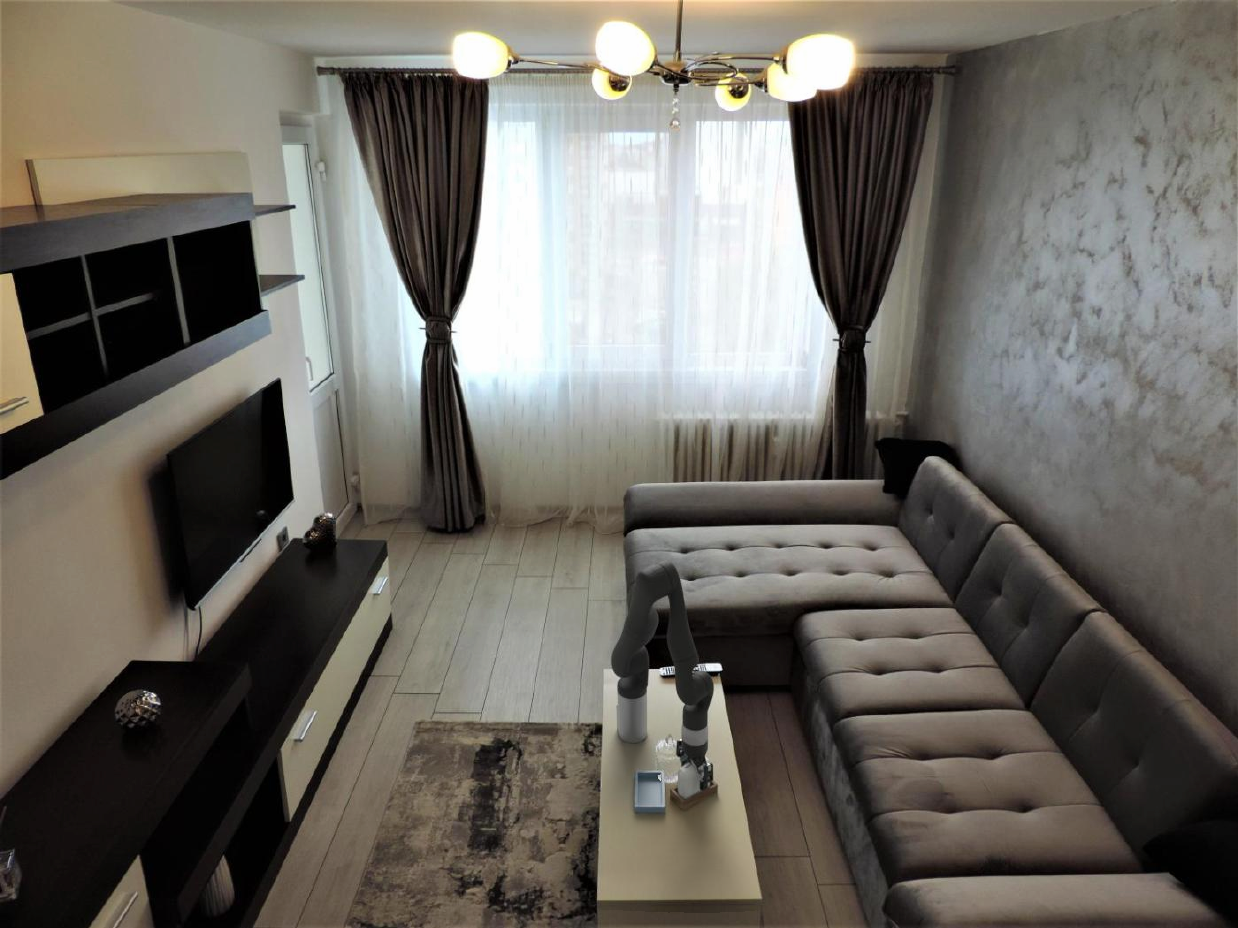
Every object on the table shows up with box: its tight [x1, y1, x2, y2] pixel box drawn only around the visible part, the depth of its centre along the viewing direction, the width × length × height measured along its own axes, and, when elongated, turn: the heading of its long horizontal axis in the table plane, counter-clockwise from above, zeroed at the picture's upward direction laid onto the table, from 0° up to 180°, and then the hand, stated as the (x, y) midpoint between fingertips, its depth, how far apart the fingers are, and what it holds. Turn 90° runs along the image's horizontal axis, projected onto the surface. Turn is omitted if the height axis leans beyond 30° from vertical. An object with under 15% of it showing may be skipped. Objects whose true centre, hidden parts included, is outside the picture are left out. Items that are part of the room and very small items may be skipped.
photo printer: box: [677, 756, 711, 801], centre depth 251 cm, size 10×4×12 cm, turn 123°
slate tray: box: [634, 770, 666, 815], centre depth 253 cm, size 14×9×2 cm, turn 179°
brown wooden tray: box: [669, 780, 719, 812], centre depth 253 cm, size 7×12×3 cm, turn 124°
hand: (694, 780), depth 251 cm, fingers open, 8 cm apart
